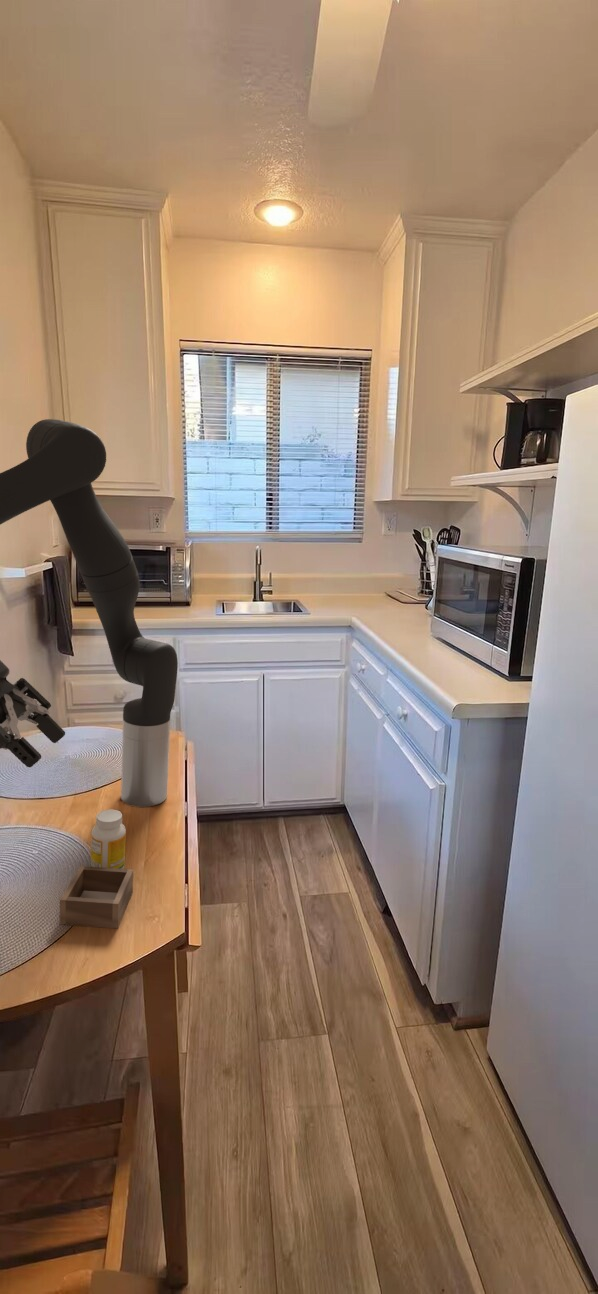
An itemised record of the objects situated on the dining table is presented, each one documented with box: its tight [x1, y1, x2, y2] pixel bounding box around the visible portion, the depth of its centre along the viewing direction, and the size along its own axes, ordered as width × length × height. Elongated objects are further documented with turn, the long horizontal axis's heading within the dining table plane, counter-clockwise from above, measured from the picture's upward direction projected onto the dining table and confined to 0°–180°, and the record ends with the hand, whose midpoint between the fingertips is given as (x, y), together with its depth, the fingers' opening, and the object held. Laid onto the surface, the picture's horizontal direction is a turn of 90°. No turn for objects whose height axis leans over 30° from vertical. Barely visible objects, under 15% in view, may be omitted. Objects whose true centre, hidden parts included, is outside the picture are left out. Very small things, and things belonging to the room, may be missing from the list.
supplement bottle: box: [90, 809, 127, 869], centre depth 97 cm, size 5×5×10 cm
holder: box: [59, 865, 134, 929], centre depth 88 cm, size 8×8×4 cm
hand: (48, 750), depth 83 cm, fingers open, 8 cm apart
